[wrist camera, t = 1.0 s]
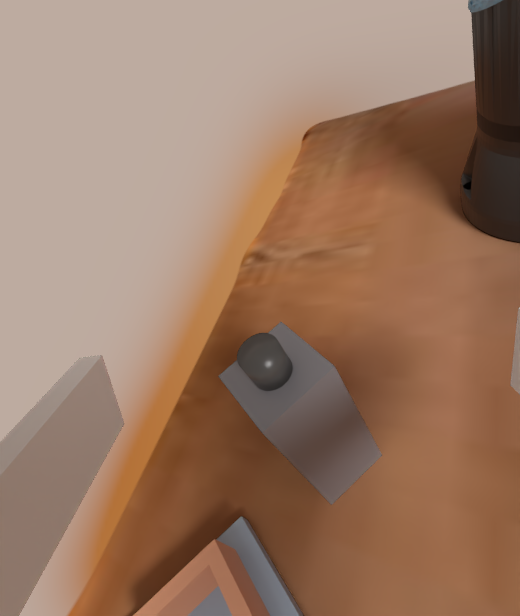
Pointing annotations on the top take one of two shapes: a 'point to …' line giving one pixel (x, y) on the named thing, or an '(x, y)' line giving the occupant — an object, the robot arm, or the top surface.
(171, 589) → the end holder
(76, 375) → the robot arm
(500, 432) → the top surface
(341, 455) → the bottle
